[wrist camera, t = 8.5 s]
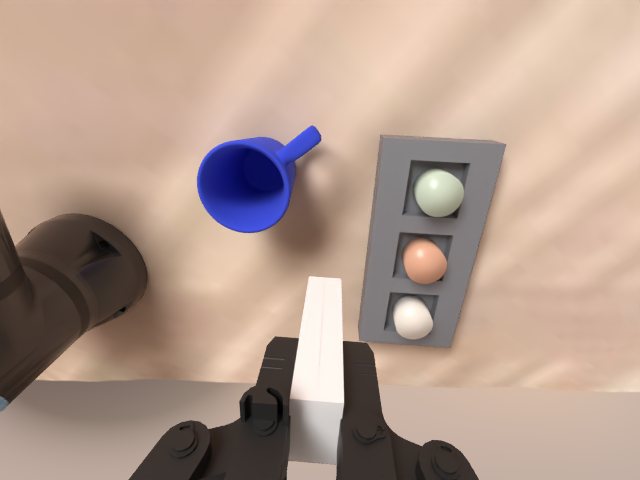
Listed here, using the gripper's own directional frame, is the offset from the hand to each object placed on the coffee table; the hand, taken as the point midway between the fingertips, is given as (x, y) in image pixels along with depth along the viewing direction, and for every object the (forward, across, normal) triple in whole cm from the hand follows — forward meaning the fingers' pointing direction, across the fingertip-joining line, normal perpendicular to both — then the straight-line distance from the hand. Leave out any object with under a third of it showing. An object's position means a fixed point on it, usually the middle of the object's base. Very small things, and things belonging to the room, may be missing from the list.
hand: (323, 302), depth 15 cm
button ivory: (+22, +11, -16) cm, 29 cm away
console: (+24, +11, -8) cm, 27 cm away
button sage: (+22, +11, +1) cm, 24 cm away
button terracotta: (+22, +11, -7) cm, 25 cm away
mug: (+24, -6, +2) cm, 25 cm away
